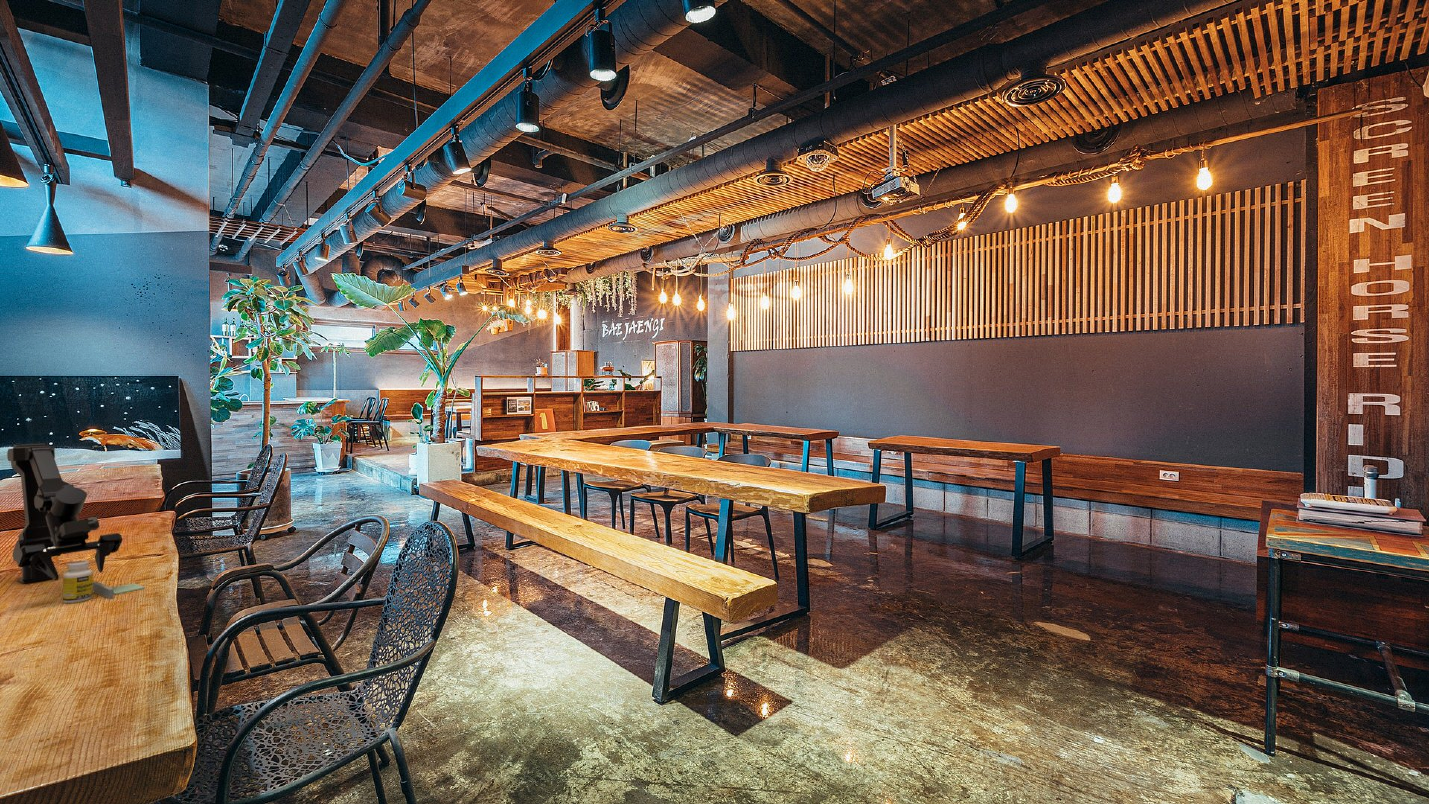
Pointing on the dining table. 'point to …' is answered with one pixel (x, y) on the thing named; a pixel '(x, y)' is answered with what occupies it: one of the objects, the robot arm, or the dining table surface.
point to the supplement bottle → (77, 582)
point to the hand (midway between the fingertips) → (79, 575)
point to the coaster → (127, 588)
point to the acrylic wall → (103, 590)
